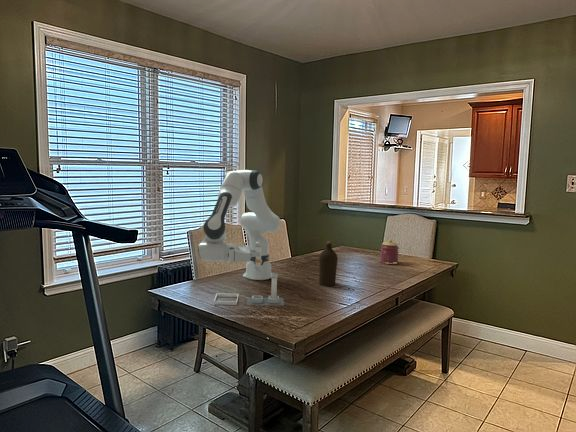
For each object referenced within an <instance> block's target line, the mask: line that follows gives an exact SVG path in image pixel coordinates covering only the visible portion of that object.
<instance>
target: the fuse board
mask: <svg viewBox="0 0 576 432" xmlns="http://www.w3.org/2000/svg"><path fill="white" fill-rule="evenodd" d="M276 297H277V299H271V295H268V297H263V295H254V294H253V295H251V296H248V297H246V305H248V306H250V305H251V306H285V302H284V297H279V295H276Z"/></svg>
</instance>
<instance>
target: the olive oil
mask: <svg viewBox="0 0 576 432" xmlns="http://www.w3.org/2000/svg"><path fill="white" fill-rule="evenodd" d="M325 243H326V244H325V248H324V250H322V251H321V252H320V254H319V256H318V284H319V285H320V286H323V285H324V287H333V285H334V286H335V285H336V280H337V278H336V277H337V268H338V267H337V266H338V255H337V253H336V252H335V250H334V249H333V246H332V245H333V244H332V243H333V242H332V241H330V240H328V241H326V242H325Z"/></svg>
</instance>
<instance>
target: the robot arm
mask: <svg viewBox="0 0 576 432" xmlns="http://www.w3.org/2000/svg"><path fill="white" fill-rule="evenodd" d="M263 183H264V177H263V174H262V172H260V171H258V170H256V169H253V170H251V169H250V170H249V169H239V170H229V171H227V172H225V174H224V176H223V181H222V182H221V186H220V189H219V192H218V196H217V199H216V200H217V201H216V203H215V205H214V208H213V210H212V213H211V215H210V216H209V217H208V218H207V219H206V220H205V222H204V223H203V228H202V229H203V232H204V234H205V236H204V237H203V239H202V241H201V242H199V243H198V245H197V253H198V257H199V259H200V260H201V261H207V262H224V263H225V262H228V263H230V264H235V263H240V262H241V263H242V262H246V265H245V266H246V267H245V268H246V269H245V272H244V273H243V275H242V278H246V279H249V280H258V281H264V280H269V279H272V278H271V273H272V263H271V262H270V261H269V260H270V254H269V247H270V245H269V244H270V243H269V240H268V239H267V238H266V237H265V236H264V235H263V233H275V232H277V231H279V229H280V228H281V219H280V217H279V216H278V215H276V214H275V213H274V212H273V211H272V210H271V208H270V207H269V206H268V203H267V200H266V198H265V194H264V190H263ZM242 192H243V195H244V199H245V204H246V207H247V209H248V210H249V211H248V212H244V213H243V214H242V215H241V217H240V222H239V223H240V227H241V228H243V230H244V231H245V232H246V233H247V236H248V240H249V245H238V246H237V245H236V243H231V242H230V243H226V240H227V232H226V231H227V230H226V223H225V218H226V215H227V213H228V210H229V208H233V207H236V206H237V204H238V202H239V200H240V198H241V195H242ZM256 242H262V247H261V271H255V265H256V262H255V259H256V256H260V252H256Z"/></svg>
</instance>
